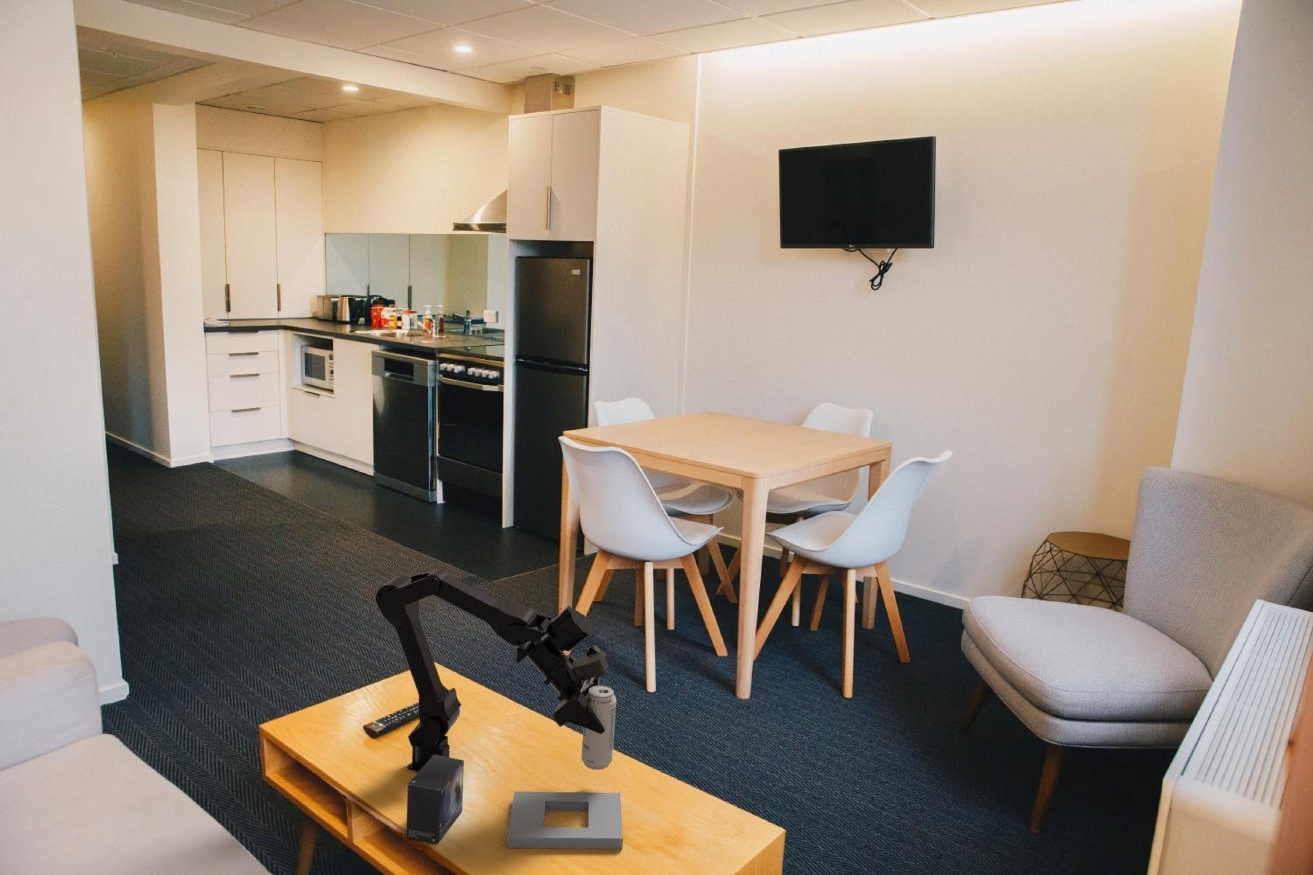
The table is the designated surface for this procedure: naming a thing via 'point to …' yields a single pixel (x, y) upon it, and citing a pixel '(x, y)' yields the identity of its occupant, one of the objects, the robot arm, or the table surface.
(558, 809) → the hole board
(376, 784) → the table surface
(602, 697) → the energy drink can
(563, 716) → the robot arm
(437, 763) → the small box
